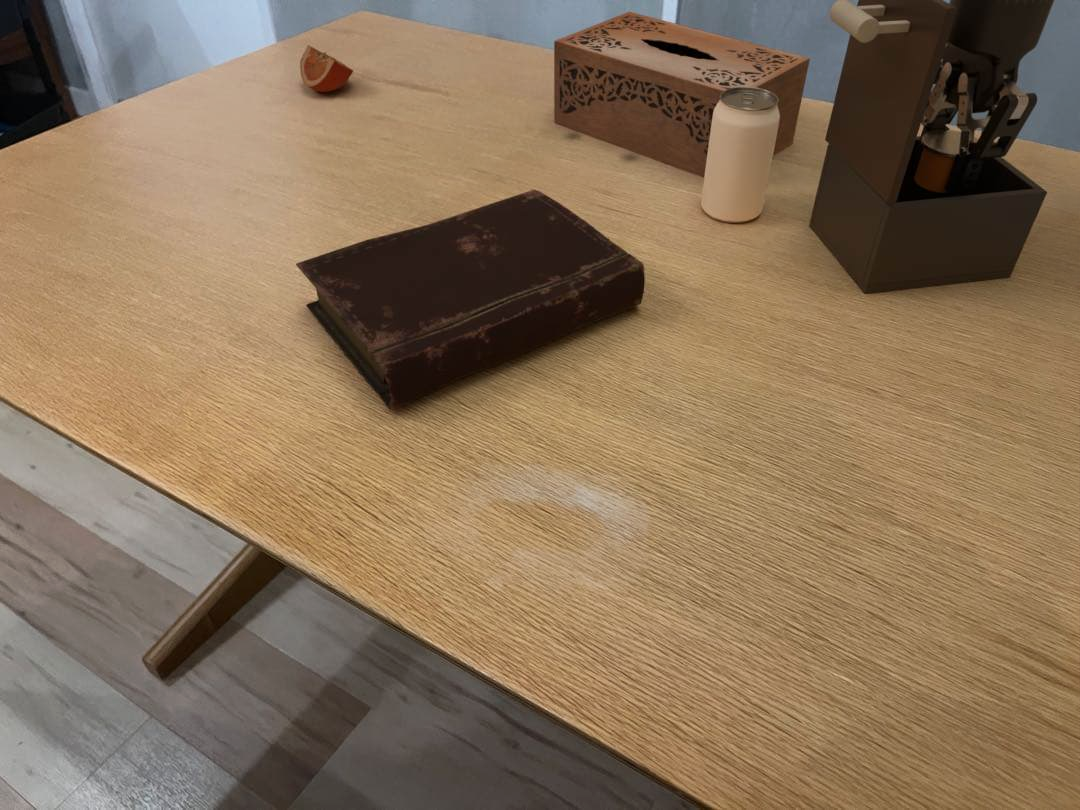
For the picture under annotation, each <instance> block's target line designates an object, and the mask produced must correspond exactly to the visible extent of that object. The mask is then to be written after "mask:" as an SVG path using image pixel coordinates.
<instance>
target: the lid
mask: <svg viewBox="0 0 1080 810" xmlns="http://www.w3.org/2000/svg"><path fill="white" fill-rule="evenodd" d="M949 3H950V2H947V1H945V0H858V1H857V5H855V3H853V2H851V1H850V0H837V1H835V2H834V3H833V4H832V6H831V7H830V9H829V18H830V20H831V21H832V22H833V23H834V24H836V25H837V26H838V27H840V28H841V29H842V30H843V31H845V32H846V33H848V34H849V38H848V42H847V46H846V50H845V55H844V58H843V63H842V68H841V72H840V76H839V79H838V84H837V88H836V93H835V95H834V96H835V97H834V101H833V105H832V109H831V114H830V118H829V122H828V127H827V131H826V133H825V134H826V135H825V141H826V143H827V144H828V145H829V144H830V145H831V146H832V147H833V148H834V149H835V150H836V151H837V152H838V153H839V154H840V155H841V156H842V157H843V158H844V159H845V160H846V161H847V162H848V163H849V164H850V165H851V166H852V167H853V168H854V169H855V170H856V171H857V172H858V173H859V174H860V175H861V176H862V177H863V178H864V179H865V180H866V181H867V182H868V183H869V184H870V185H871V186H872V187H873V188H874V189H875V190H876V191H877V192H878V193H879V194H880V195H881V196H882V197H883V198H884V199H885V200H886V201H887V202H888V203H891V202H896V201H897V198H898V195H899V191H900V188H901V185H902V182H903V179H904V176H905V172H906V169H907V166H908V163H909V160H910V157H911V153H912V150H913V147H914V144H915V141H916V138H917V136H918V134H919V131H920V128H921V126H922V124H921V122H922V119H923V115H924V112H925V109H926V106H927V103H928V99H929V96H930V93H931V91H932V90H933V88H934V85H935V84H934V80H935V77H936V74H937V71H938V68H939V65H940V61H941V58H942V55H943V52H944V49H945V46H946V42H947V39H948V36H949V33H950V30H951V27H952V23H953V20H954V17H955V14H956V11H957V8H956V7H954V6H952V5H951V4H949Z"/></svg>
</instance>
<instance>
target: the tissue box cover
mask: <svg viewBox="0 0 1080 810" xmlns="http://www.w3.org/2000/svg"><path fill="white" fill-rule="evenodd" d="M810 61H811V57H807V56H803V55H799V54H796V53H791V52H787V51H784V50H780V49H777V48H772V47H768V46H765V45H761V44H756V43H752V42H749V41H746V40H745V41H744V40H742V39H738V38H733V37H729V36H726V35H722V34H719V33H713V32H709V31H706V30H703V29H698V28H694V27H690V26H686V25H683V24H679V23H675V22H671V21H667V20H663V19H659V18H657V17H651V16H647V15H644V14H640V13H636V12H632V11H627V12H625V13H622V14H619V15H616V16H615V17H612V18H610V19H606V20H604V21H602V22H599V23H597V24H594V25H591V26H589V27H585V28H584V29H582V30H578V31H576V32H573V33H570V34H568V35H565V36H562V37H561V38H558V39H556V40H554V41H553V63H554V64H553V70H554V71H553V73H554V74H553V76H554V77H553V78H554V79H553V81H554V82H553V85H554V86H553V88H554V89H553V91H554V92H553V93H554V94H553V97H554V98H553V101H554V103H553V107H554V113H553V116H554V118H553V119H554V120H553V123H554V124H558V125H559V126H561V127H562V126H563V127H565V128H569V129H571V130H574V131H576V132H579V133H581V134H584V135H586V136H590V137H592V138H596V139H598V140H601V141H604V142H606V143H609V144H612V145H614V146H616V147H620V148H622V149H625V150H629V151H632V152H634V153H636V154H639V155H641V156H642V155H643V156H645V157H648V158H650V159H653V160H656V161H659V162H661V163H664V164H667V165H669V166H672V167H675V168H677V169H681V170H682V171H686V172H689V173H691V174H694V175H697V176H699V177H703V178H704V176H705V168H706V161H707V153H708V146H709V138H710V131H711V124H712V117H713V112H714V109H715V107H716V105H717V104H718V102H719V100H720V94H721V93H722V92H723V91H725V90H727V89H730V88H734V87H756V88H761V89H765V90H768V91H770V92H772V93H774V94H775V95H776V96H777V97H778V99H779V101H778V104H777V106H778V110H779V113H780V119H779V125H778V131H777V137H776V142H775V147H774V153H773V156H775V155H777V154H779V152H781V151H783V150H784V149H786V148H788V147H789V146H790V145H792V144H793V143H794V139H795V134H796V130H797V125H798V120H799V115H800V110H801V105H802V100H803V95H804V89H805V85H806V79H807V74H808V70H809V65H810Z"/></svg>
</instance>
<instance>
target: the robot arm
mask: <svg viewBox="0 0 1080 810" xmlns="http://www.w3.org/2000/svg"><path fill="white" fill-rule="evenodd" d="M948 3H949V4H951V5H952V6H954V7H956V8H957V11H956V14H955V17H954V20H953V23H952V27H951V30H950V33H949V36H948V39H947V42H946V46H945V49H944V52H943V55H942V58H941V61H940V65H939V68H938V71H937V74H936V77H935V80H934V84H933V87H932V90H931V93H930V96H929V99H928V103H927V106H926V109H925V112H924V115H923V119H922V122H921V126H922V129H921V134H920V141H919V143H918V146H917V149H916V155H915V158H914V163H915V164H916V165H917V166H918V164H919V161H920V158H921V155H922V152H923V149H924V147H923V146H922V144H921V140H922V137H923V135H924V134H926V133H927V132H930V131H935V130H951V128H950V127H949V126H948V125H949V124H952V121H953V119H954V118H955V117H956V127H957V129H959V130H960V132H961V137H960V145H959V154H957V155H956V158H955V161H954V164H953V166H952V169H951V172H950V175H949V178H948V181H947V184H946V187H945V190H946V191H947V192H948V193H949V194H950V195H957V194H966V193H968V192H969V191H970V190H972V188H973V187H974V185H975V183H976V180H977V177H978V175H979V172H980V169H981V167H982V164H983V161H984V159H985V158H995V157H1002V158H1005V157H1006V155H1007V154H1008V153H1009V150H1010V149H1011V148H1012V146H1013V144H1014V143H1015V141H1016V139H1017V138H1018V136H1019V134H1020V132H1021V130H1022V129H1023V127H1024V126H1025V124H1026V122H1027V120H1028V119H1029V117H1030V116H1031V114H1032V112H1033V110H1034V109H1035V107H1036V105H1037V103H1038V96H1037V94H1036V93H1035V92H1026V93H1024V92H1023V91H1022V89H1020V87H1019V86H1018V85H1017V82H1018V79H1019V67H1020V63H1021V61H1022V59H1023V58H1024V57H1026V55H1027V54H1028V53H1030V52H1032V51H1033V50H1034V49H1035V48H1037V46H1038V44H1039V41H1040V39H1041V36H1042V33H1043V31H1044V28H1045V26H1046V24H1047V21H1048V17H1049V15H1050V13H1051V10H1052V7H1053V5H1054V3H1055V0H949V2H948ZM986 112H987V114H986V115H985V116H983V117H975V118H974V117H973V114H983V113H986ZM977 129H981V132H980V136H979V138H977V139H978V141H977V142H973V141H974V137H975V133H976V130H977ZM997 138H998V139H997ZM995 140H997V141H995Z"/></svg>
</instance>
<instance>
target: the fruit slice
mask: <svg viewBox="0 0 1080 810" xmlns="http://www.w3.org/2000/svg"><path fill="white" fill-rule="evenodd" d="M299 64H300V66H299V69H300V77H301V80H302V82H303V84H305V86H306V87H308V88H309V89H311V90H313V91H315V92H319V93H329V92H333V91H336V90H338V89H340V88H341V87H342V86H343V85H345V84H346V83H347V82H348V81H349V79H350V78H351V76H352V74H353V73H354V70H353V69H352V68H350V67H349V66H348V65H346V64H345V63H343V62H341V61H339V60H338V59H336V58H335V57H333V56H330V55H328V54H327V51H324V52H322V51H320V50H318V49H317V48H315V47H313V46H311V45H307V46H306V47H305V50H304V53H303V54H302V57H301V58H300V61H299Z"/></svg>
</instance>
